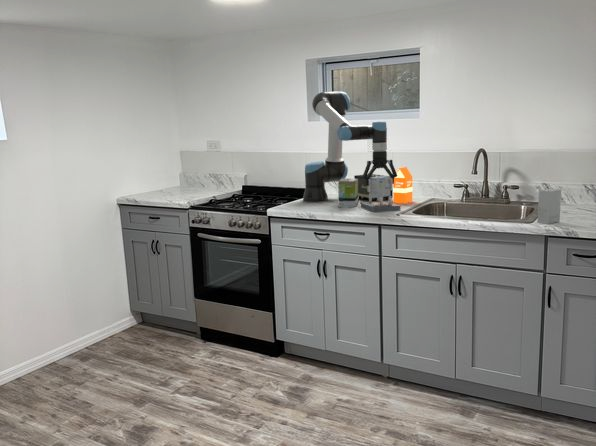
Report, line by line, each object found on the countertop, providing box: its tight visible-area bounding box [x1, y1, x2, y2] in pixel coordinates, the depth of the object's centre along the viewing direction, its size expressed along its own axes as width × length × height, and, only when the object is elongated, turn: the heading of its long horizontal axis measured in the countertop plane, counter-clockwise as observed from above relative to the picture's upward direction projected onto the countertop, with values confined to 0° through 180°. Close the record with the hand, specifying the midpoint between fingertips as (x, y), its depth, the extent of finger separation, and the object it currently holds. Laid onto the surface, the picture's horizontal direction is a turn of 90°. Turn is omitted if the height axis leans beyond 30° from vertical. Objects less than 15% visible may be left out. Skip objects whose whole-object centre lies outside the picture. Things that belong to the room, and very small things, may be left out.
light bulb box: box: [369, 175, 390, 198], centre depth 298 cm, size 11×7×11 cm, turn 136°
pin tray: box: [360, 193, 401, 213], centre depth 300 cm, size 19×15×8 cm
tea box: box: [337, 178, 359, 208], centre depth 316 cm, size 15×10×15 cm
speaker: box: [353, 173, 394, 202], centre depth 334 cm, size 22×13×15 cm, turn 28°
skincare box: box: [537, 187, 562, 225], centre depth 246 cm, size 8×6×15 cm
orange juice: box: [393, 166, 413, 204], centre depth 319 cm, size 8×9×20 cm
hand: (380, 191), depth 299 cm, fingers closed on light bulb box, 12 cm apart
